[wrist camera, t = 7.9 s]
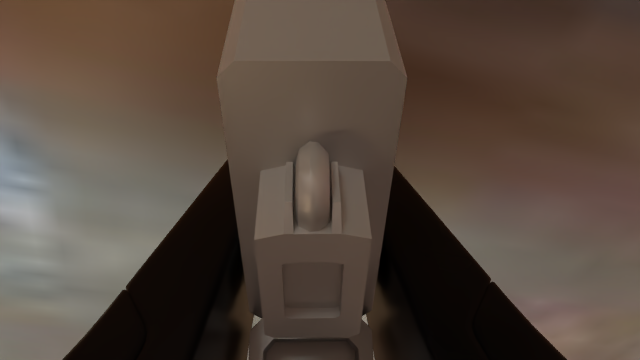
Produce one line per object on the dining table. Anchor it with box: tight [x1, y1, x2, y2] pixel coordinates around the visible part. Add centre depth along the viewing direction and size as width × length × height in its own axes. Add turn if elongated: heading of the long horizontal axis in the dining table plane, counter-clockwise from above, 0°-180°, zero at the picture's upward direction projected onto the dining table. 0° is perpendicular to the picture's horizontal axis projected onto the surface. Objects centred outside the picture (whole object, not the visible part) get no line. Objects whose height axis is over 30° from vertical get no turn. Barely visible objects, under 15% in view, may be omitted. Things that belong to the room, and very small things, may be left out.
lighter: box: [217, 0, 407, 360], centre depth 7 cm, size 7×2×8 cm, turn 179°
